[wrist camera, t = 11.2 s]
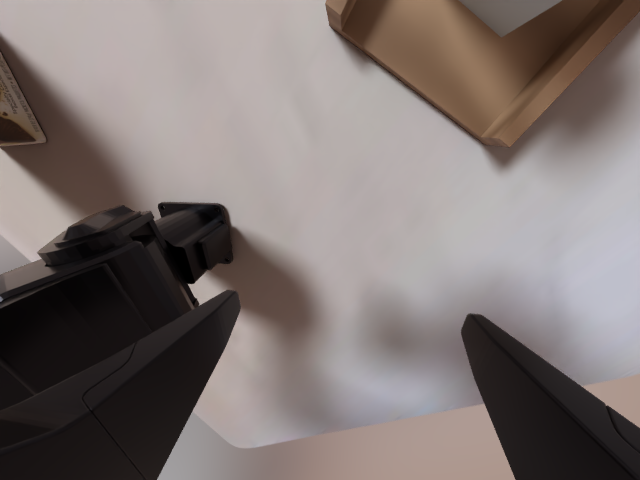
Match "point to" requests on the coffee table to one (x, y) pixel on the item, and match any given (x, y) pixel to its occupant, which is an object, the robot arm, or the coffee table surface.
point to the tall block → (507, 12)
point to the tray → (482, 55)
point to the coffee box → (15, 113)
